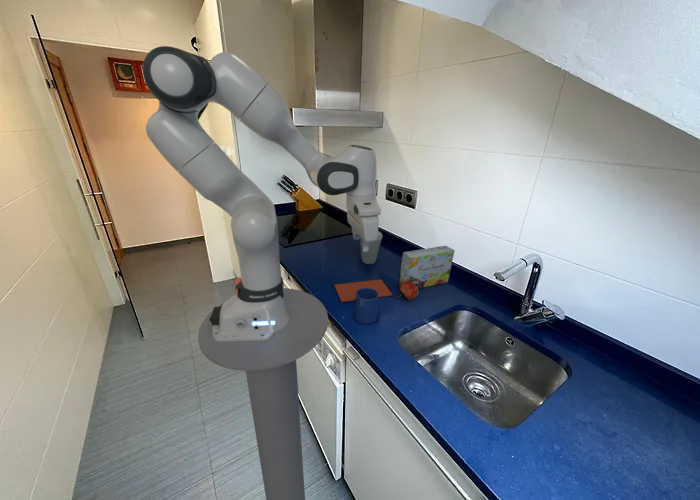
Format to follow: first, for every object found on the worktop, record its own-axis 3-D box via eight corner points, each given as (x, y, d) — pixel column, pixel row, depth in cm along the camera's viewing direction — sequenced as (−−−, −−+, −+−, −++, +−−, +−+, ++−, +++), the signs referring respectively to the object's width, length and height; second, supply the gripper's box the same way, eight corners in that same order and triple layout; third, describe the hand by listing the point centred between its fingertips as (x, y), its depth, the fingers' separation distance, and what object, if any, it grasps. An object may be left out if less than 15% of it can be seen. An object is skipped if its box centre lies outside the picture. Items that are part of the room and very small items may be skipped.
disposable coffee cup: (363, 254, 141) (365, 226, 135) (384, 259, 137) (386, 230, 131) (354, 263, 133) (355, 232, 126) (375, 268, 128) (377, 237, 122)
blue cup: (358, 325, 91) (359, 301, 88) (352, 311, 98) (353, 289, 94) (380, 321, 93) (382, 298, 90) (372, 308, 100) (374, 286, 96)
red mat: (341, 302, 103) (341, 301, 103) (334, 285, 113) (334, 284, 113) (392, 295, 108) (392, 294, 108) (381, 280, 119) (381, 279, 118)
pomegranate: (401, 309, 104) (426, 296, 101) (390, 293, 103) (415, 280, 100) (401, 300, 111) (424, 287, 108) (391, 285, 110) (413, 272, 107)
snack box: (406, 292, 110) (410, 257, 104) (398, 285, 115) (402, 251, 109) (448, 282, 118) (455, 249, 112) (439, 276, 123) (445, 244, 117)
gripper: (342, 195, 94) (342, 234, 100) (361, 212, 76) (360, 259, 82) (360, 194, 95) (360, 232, 101) (383, 210, 77) (381, 256, 83)
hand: (360, 244), depth 91 cm, fingers open, 8 cm apart
